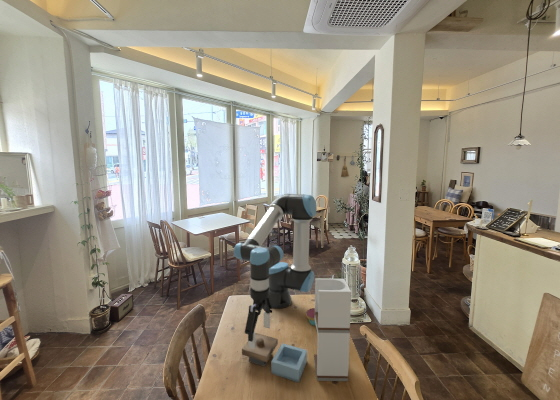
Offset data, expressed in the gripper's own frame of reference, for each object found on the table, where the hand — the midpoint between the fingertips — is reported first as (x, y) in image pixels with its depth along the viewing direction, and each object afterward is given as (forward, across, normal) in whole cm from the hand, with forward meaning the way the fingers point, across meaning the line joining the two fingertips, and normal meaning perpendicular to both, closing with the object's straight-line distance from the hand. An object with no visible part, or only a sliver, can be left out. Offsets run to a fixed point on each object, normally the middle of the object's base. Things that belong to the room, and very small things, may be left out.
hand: (259, 336), depth 101 cm
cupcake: (+9, -32, +15) cm, 37 cm away
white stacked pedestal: (+10, -6, +28) cm, 30 cm away
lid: (+6, 0, 0) cm, 6 cm away
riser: (+10, 0, 0) cm, 10 cm away
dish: (+10, 0, +13) cm, 16 cm away
